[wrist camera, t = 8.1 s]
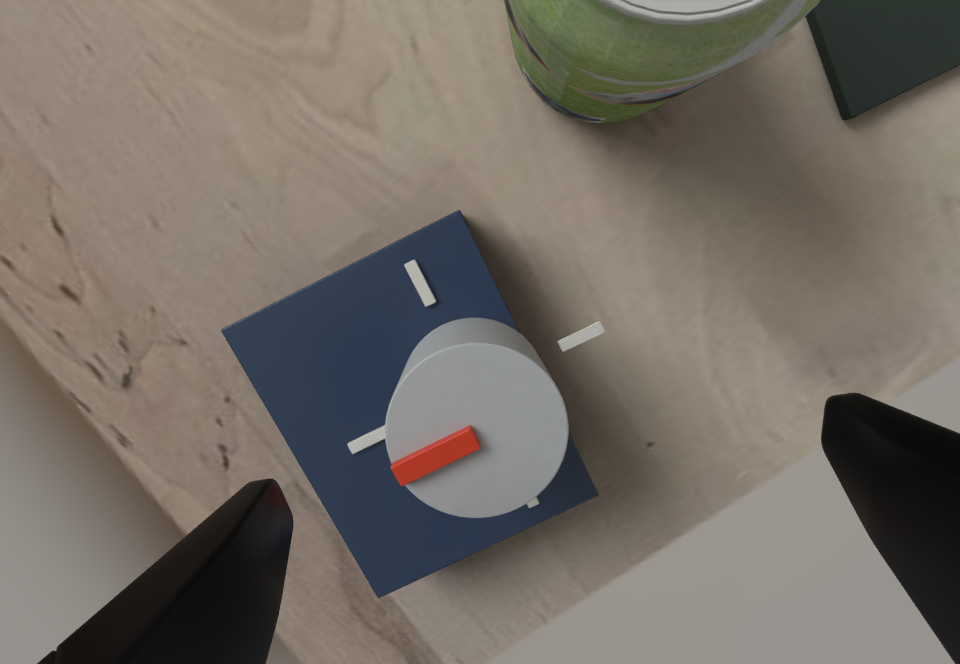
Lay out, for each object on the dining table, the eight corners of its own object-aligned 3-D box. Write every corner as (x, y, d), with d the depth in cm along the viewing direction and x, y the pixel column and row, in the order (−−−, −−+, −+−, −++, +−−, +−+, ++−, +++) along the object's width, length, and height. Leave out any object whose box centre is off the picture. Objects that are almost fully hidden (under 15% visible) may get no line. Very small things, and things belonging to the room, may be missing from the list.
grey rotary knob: (507, 292, 17) (521, 312, 13) (568, 418, 18) (602, 476, 14) (376, 357, 17) (348, 397, 13) (442, 478, 18) (436, 554, 14)
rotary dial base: (637, 432, 21) (666, 466, 18) (389, 549, 22) (377, 602, 19) (520, 182, 20) (531, 173, 16) (255, 315, 20) (217, 330, 17)
